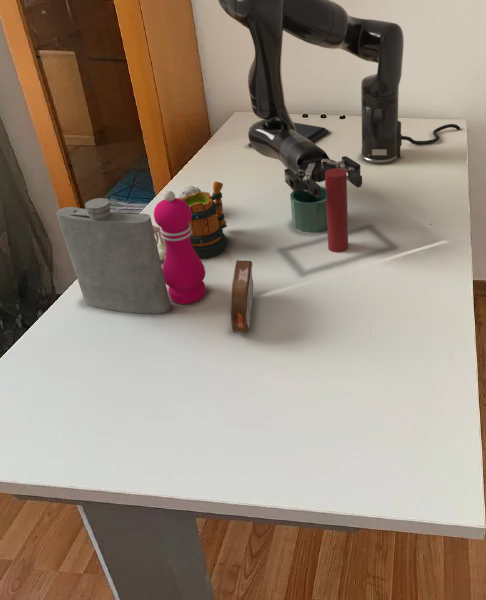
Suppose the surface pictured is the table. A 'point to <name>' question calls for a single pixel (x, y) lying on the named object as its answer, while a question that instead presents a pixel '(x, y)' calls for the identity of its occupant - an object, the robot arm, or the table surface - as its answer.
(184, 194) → the frog figurine
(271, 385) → the table surface
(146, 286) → the hip flask
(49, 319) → the table surface
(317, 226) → the tumbler
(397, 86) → the robot arm
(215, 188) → the mug
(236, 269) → the tin
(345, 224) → the candle
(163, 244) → the bracelet
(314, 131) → the wallet
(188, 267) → the pepper mill
